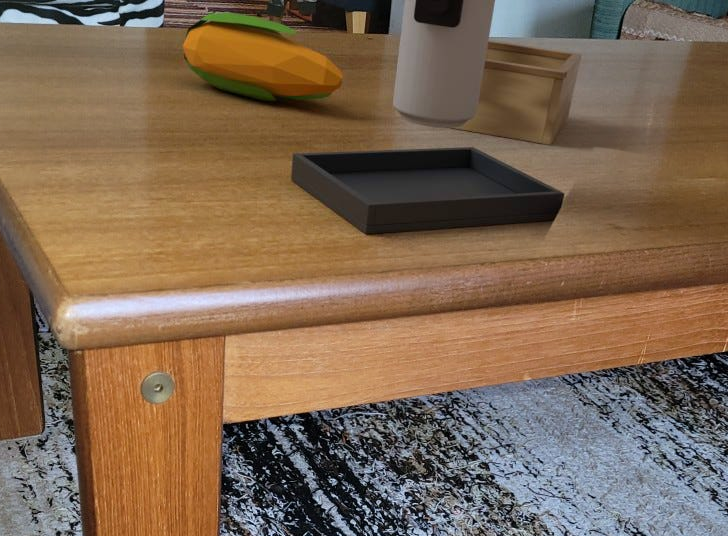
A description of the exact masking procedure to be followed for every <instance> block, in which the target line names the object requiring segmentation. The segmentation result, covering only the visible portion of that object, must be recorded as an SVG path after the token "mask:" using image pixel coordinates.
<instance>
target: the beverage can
mask: <svg viewBox="0 0 728 536" xmlns="http://www.w3.org/2000/svg"><path fill="white" fill-rule="evenodd" d="M415 3H416V0H404V6H403V14H402V21H401V22H402V23H401V32H400V38H399V47H398V56H397V66H396V74H395V82H394V89H393V98H392V106H393V109H395V110H396V111H397V112H398V113H399V115H400V117H401V119H402V120H404V121H406V122H409V123H412V124H414V125H418V126H424V127H430V128H441V129H443V128H444V129H447V128H448V129H453V128H452V127H459V126H463V125H464V124H465V123H466V121H468V120H470V119H472V118H474V117H475V115H476V113H477V107H478V101H479V95H480V89H481V83H482V77H483V71H484V65H485V59H486V53H487V47H488V41H489V40H490V33H491V30H492V29H491V27H492V22H493V15H494V9H495V5H496V4H495V3H496V0H463V7H462V14H461V20H460V24H459V25H458V26H456V27H454V28H451V27H445V26H438V25H431V24H425V23H418V22H416V21H415V19H414V11H415Z"/></svg>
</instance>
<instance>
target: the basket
mask: <svg viewBox="0 0 728 536" xmlns="http://www.w3.org/2000/svg"><path fill="white" fill-rule="evenodd" d="M582 55H583V54H582V53H578V52H573V51H572V52H571V51H564V50H558V49H552V48H551V49H550V48H544V47H537V46H532V45H531V46H530V45H524V44H517V43H511V42H504V41H497V40H491V39H489V41H488V47H487V53H486V59H485V65H484V71H483V77H482V83H481V89H480V95H479V101H478V107H477V113H476V115H475V117H474V118H472V119H470V120H468V121H466V123H465V124H464V125H463V126H459V127H452V128H451V129H453V130H454V129H455V130H461V131H466V132H472V133H476V134H477V133H478V134H482V135H483V134H484V135H489V136H496V137H501V138H508V139H514V140H518V141H524V142H530V143H535V144H536V143H537V144H542V145H547V146H550V145H551V144H552V142H553V141H554V140H555V138H556V137H557V136H558V134H559V132H561V130H562V129H563V127H564V126H565V124H566V123H567V121H568V119H569V115H570V110H571V105H572V100H573V95H574V92H575V91H574V90H575V87H576V83H577V79H578V78H577V77H578V73H579V68H580V64H581V60H582Z"/></svg>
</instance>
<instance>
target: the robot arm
mask: <svg viewBox="0 0 728 536" xmlns="http://www.w3.org/2000/svg"><path fill="white" fill-rule="evenodd" d="M462 7H463V0H416V3H415V11H414V19H415V21H416V22H418V23H425V24H431V25H438V26H445V27H451V28H454V27H456V26H458V25H459V24H460V20H461V14H462Z"/></svg>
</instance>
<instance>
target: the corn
mask: <svg viewBox="0 0 728 536" xmlns="http://www.w3.org/2000/svg"><path fill="white" fill-rule="evenodd" d="M281 33H283V34H288V35H295V34H297V33H298V31H297V30H295V29H293V28H291V27H289V26H287V25H285V24H283V23H280V22H276V21H273V20H268V19H265V18H261V17H258V16H253V15H247V14H240V13H233V12H220V13H219V12H218V13H208V14H207V15H205V16H204V17H203V18H201V19H200V20H198V21H197V22H195V23H194V24H193V25H191V26H189V27H188V28H187V31H186V35H185V38H184V39H185V40H184V42H183V45H182V49H183V50H182V51H183V58H184V61H185V62H186V64H187V65H188V67H189V68H190V70H191V71H192V72H193V73H195V74H196V75H197V76H198V77H199V78H200V79H201V80H203V81H205V82H206V83H208V84H210V85H211V86H213V87H215V88H217V89H218V90H220V91H224V92H228V93H232V94H236V95H239V96H243V97H247V98H252V99H255V100H259V101H262V102H276V101H277V99H276V98H275V97H278V98H279V97H280V98H285V99H292V100H299V101H304V100H308V101H309V100H319V99H326V98H329V97H330V96H331V95H332V93H333V92H335V91H336V90H338V89H339V88H341V87H342V83H343V79H344V74H343V73H342V71H341V70H340V68H339V67H338V66H337V65H336V64H334V63H333V62H332V60H330V59H329V58H328V57H327V56H325V55H323V54H321V53H319V52H317V51H314V50H313V49H311V48H309V47H306V46H304V45H302V44H300V43H298V42H296V41H293V40H291V39H289V38H287V37H285V36H284V35H282V34H281Z"/></svg>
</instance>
